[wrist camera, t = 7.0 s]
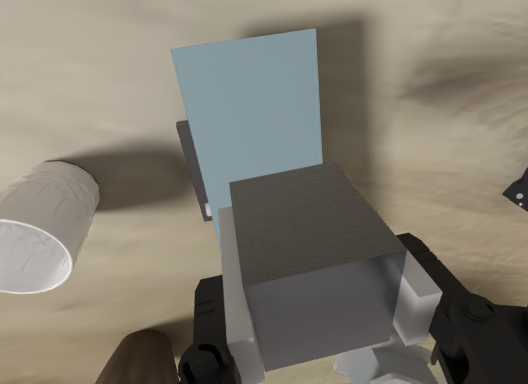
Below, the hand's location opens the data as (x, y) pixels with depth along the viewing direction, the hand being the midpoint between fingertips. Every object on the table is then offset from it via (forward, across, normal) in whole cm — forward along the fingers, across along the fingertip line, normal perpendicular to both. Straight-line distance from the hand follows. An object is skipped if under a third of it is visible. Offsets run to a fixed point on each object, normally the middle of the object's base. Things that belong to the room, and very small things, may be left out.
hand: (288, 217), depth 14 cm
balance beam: (+11, 0, -6) cm, 12 cm away
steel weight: (0, 0, 0) cm, 0 cm away
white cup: (+18, -20, -5) cm, 27 cm away
